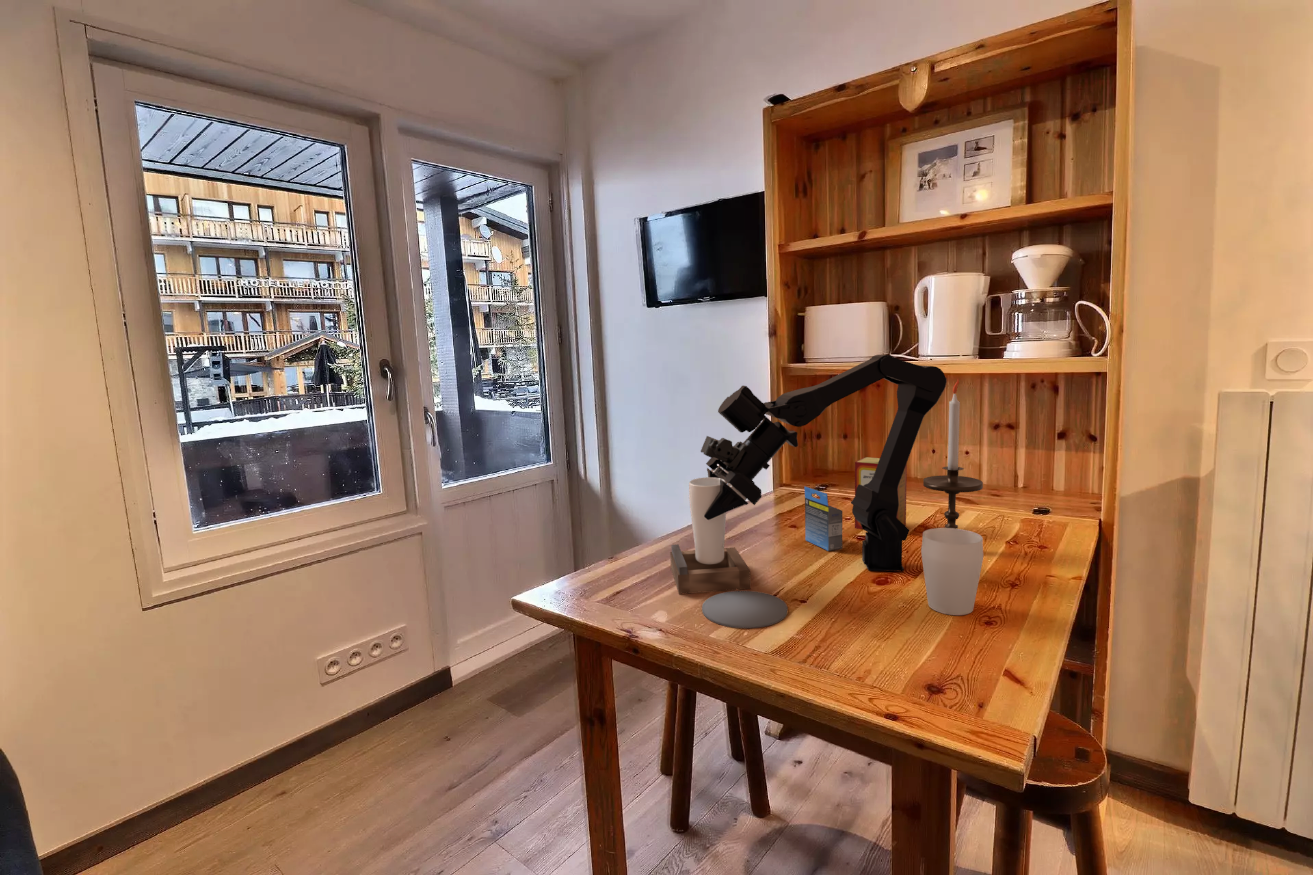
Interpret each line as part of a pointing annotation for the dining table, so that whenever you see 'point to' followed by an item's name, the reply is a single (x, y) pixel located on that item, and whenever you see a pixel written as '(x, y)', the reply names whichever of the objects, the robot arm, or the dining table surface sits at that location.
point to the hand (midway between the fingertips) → (701, 513)
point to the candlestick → (953, 467)
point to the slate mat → (744, 609)
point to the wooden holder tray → (708, 572)
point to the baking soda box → (864, 476)
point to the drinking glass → (706, 521)
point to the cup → (951, 569)
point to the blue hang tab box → (822, 521)
